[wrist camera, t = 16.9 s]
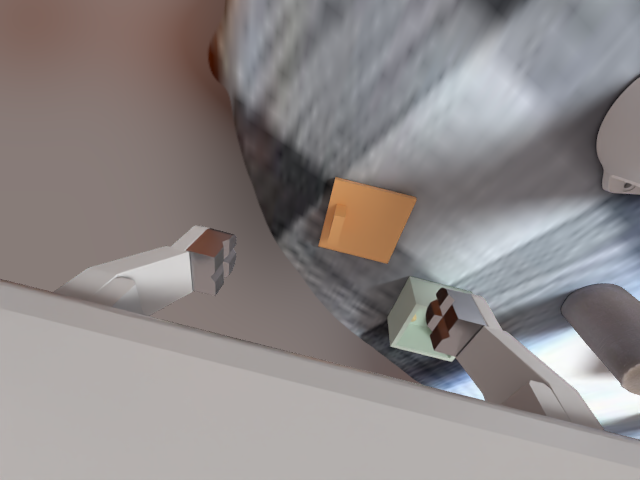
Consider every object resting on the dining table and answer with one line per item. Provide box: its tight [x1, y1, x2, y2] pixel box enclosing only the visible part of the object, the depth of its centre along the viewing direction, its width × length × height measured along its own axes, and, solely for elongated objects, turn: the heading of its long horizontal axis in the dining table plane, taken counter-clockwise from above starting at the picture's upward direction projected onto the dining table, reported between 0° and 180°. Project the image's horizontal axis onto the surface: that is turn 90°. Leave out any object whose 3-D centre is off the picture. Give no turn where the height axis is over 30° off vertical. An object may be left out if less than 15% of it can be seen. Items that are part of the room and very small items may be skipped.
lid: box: [319, 177, 417, 264], centre depth 41 cm, size 13×13×6 cm
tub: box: [387, 276, 473, 362], centre depth 49 cm, size 12×12×7 cm
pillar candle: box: [561, 284, 640, 395], centre depth 40 cm, size 10×10×15 cm
